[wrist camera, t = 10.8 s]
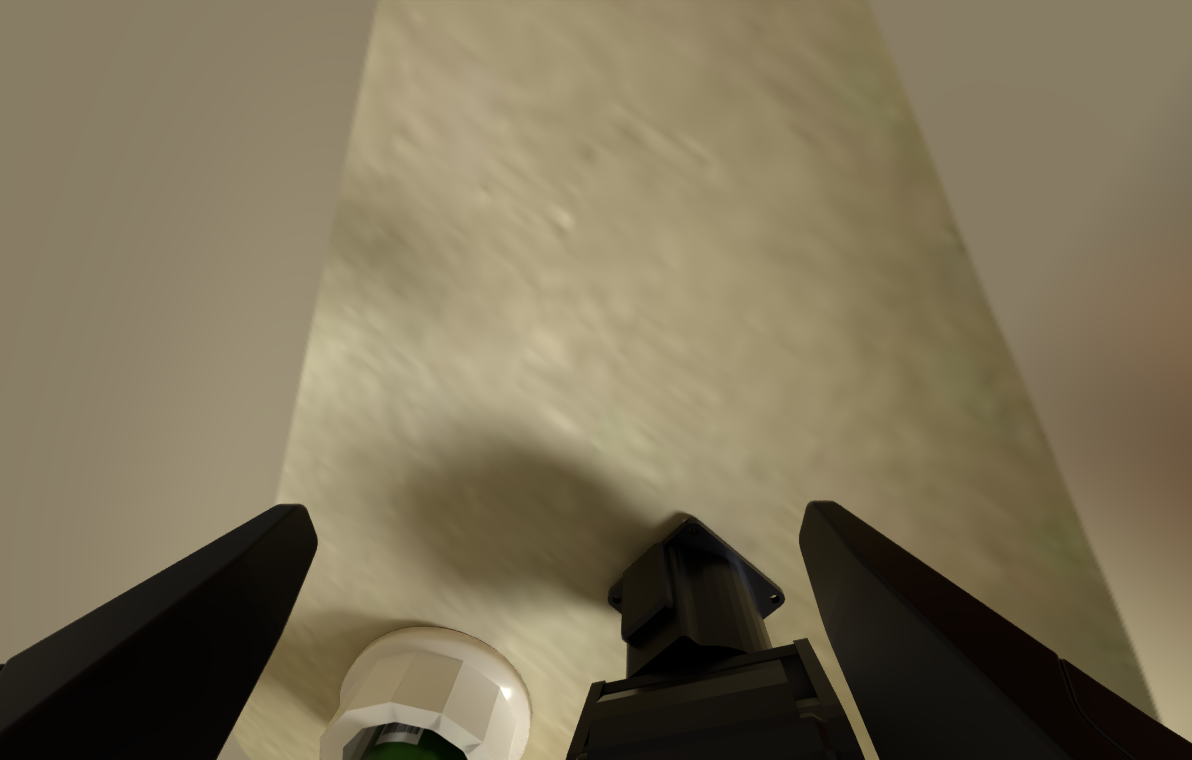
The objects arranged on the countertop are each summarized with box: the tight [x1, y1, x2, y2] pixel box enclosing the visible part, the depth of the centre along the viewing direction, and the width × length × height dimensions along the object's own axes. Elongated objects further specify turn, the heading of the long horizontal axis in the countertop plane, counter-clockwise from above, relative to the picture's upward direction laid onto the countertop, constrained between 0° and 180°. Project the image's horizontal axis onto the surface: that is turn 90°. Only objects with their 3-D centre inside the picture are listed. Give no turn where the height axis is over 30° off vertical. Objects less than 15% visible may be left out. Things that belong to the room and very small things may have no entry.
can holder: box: [320, 627, 532, 760], centre depth 26 cm, size 11×11×4 cm
